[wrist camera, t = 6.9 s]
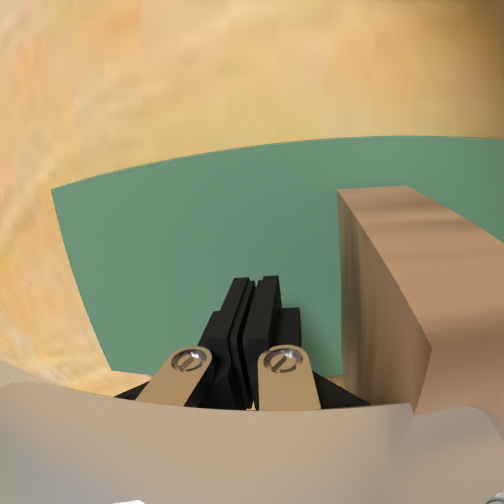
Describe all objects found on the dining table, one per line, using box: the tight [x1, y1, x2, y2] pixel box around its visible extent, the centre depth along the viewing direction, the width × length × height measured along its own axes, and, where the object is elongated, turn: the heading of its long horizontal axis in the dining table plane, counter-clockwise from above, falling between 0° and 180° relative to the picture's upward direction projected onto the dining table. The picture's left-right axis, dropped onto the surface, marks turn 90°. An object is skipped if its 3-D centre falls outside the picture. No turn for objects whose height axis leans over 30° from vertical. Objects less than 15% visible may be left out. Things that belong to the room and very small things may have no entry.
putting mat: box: [51, 136, 504, 377], centre depth 15 cm, size 12×34×3 cm, turn 98°
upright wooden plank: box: [337, 185, 504, 425], centre depth 9 cm, size 8×4×10 cm, turn 8°
